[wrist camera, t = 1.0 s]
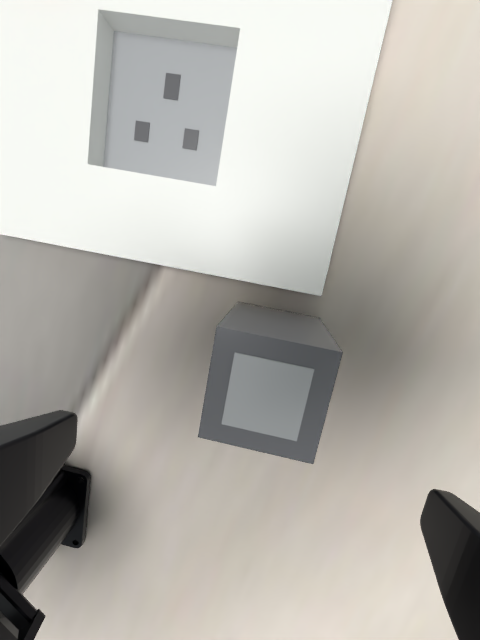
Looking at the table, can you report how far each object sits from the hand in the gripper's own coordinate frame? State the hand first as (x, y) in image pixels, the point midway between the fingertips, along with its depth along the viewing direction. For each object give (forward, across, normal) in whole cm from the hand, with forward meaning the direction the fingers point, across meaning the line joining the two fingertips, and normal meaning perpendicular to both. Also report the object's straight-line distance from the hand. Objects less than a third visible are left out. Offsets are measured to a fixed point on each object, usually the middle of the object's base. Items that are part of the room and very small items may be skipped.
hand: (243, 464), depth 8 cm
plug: (+12, 0, 0) cm, 12 cm away
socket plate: (+12, +7, -12) cm, 18 cm away
